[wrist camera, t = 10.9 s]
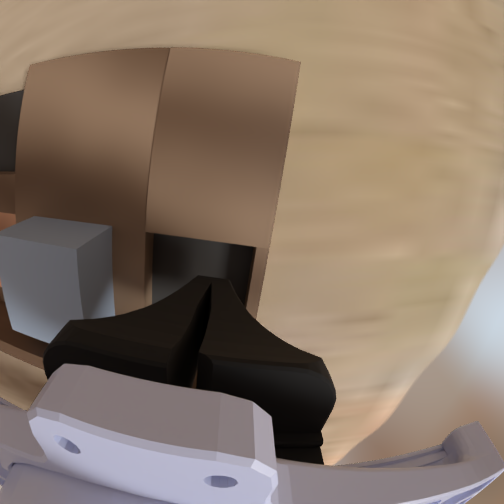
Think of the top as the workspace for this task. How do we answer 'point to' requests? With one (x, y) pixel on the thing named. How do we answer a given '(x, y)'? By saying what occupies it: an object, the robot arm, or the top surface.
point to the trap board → (152, 165)
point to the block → (55, 274)
